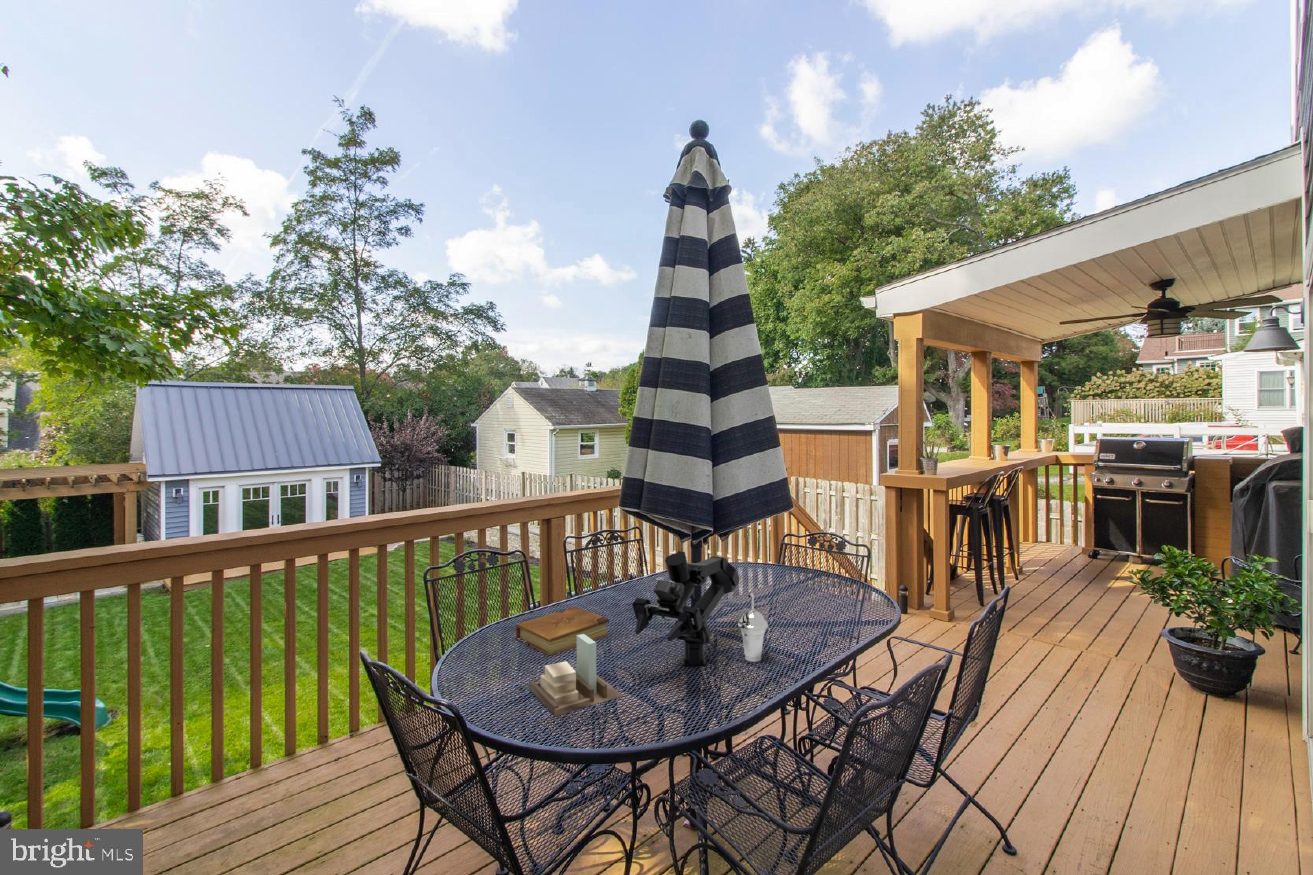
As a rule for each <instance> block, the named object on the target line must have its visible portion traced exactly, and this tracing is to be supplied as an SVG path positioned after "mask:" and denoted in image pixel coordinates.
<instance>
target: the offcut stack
mask: <svg viewBox="0 0 1313 875" xmlns="http://www.w3.org/2000/svg"><path fill="white" fill-rule="evenodd" d="M576 675H577V671H576V670H575V669H574V668H573V667H572V666H571V664H570V663H569V662H568V661H561V662H557V663H552V664H551V663H550V664H547V665H544V673H543V674H541V675H540V677H539V679H540V680H539V681H540V685H541V689H542V690H543V691H544V692H545V693H546V694H547V695H548V696H549V697H550V698H551V699H552V700H553V701H554V702H555V703H556V704H557V705H558V706H563V705H566V704H569V703H573V702H576V701H578V691H577V690H576Z"/></svg>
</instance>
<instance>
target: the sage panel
mask: <svg viewBox="0 0 1313 875" xmlns="http://www.w3.org/2000/svg"><path fill="white" fill-rule="evenodd" d="M576 675H578V676H579V677H580V678H581V679H582V680H584V681H585V682H586V683H587V684H588V685H590V686H591V687H592V688H593V689H594V694H597V679H596V675H597V642H596V640H595V641H593V640H592V639H590V638H589V637H588V636H586V635H585V634H581V635H577V647H576Z"/></svg>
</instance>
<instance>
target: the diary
mask: <svg viewBox="0 0 1313 875" xmlns="http://www.w3.org/2000/svg"><path fill="white" fill-rule="evenodd" d="M609 622H610V618H607V617H604V616H602V615H599V614H597V613H595V612H591V611H588V610H587V609H583V608H581V607H578V606H573V607H568V608H566V609H563V610H559V611H557V612H556V611H555V612H552V613H550V614H546V615H542V616H539V617H536V618H532V619H530V620H526V621H522V622H520V623H516V625H515V639H516V638H522V639H520V640H526V641H527V642H525V643H526V644H529V645H530V646H532V647H533V649H534V648H536V649H537V651H538V650H539V652H540V651H542V652H543V654H544V653H545V654H544V655H546V654H547V656H548V655H552V656H554V654H555V655H557V654H560V653H562V652H561V651H563V652H566V651H569V650H571V648H572V649H575V648H577V635H581V634H585V635H586V636H588V637H589V638H590V639H592V640H595V641H598V640H600V639H603V638H606V637H609V636H611V634H610V632H608V631H607V630H608V627H607V625H608V624H607V623H609ZM608 635H609V636H608ZM602 637H603V638H602ZM597 639H598V640H597ZM526 644H525V645H526ZM530 646H529V647H530ZM532 647H531V648H532ZM536 649H535V650H536ZM568 649H569V650H568ZM542 652H541V653H542ZM559 652H560V653H559ZM556 653H557V654H556Z"/></svg>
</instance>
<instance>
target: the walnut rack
mask: <svg viewBox="0 0 1313 875" xmlns="http://www.w3.org/2000/svg"><path fill="white" fill-rule="evenodd" d="M596 679H597V694H594V689H593V688H592V687H591V686H590V685H588V684H587V683H586V682H585V681H584V680H582V679H581V678H580V677H579V676H578V675H577V674H576V690H577V691H578V701H576V702H573V703H569V704H566V705H563V706H558V705H557V704H556V703H555V702H554V701H553V700H552V699H551V698H550V697H549V696H548V695H547V694H546V693H545V692H544V691H543V690H542V689H541V685H540V680H539V681H532V682H530V683H529V691H530V692H531V693H532V694H533V695H534V696H535V697H536V698H537V699H538V700H539V701H540V702H541V703H542V704H543V705H544V706H545V707H546V709H548V710H549V711H550V713H551V714H552V715H553V716H554V717H559V716H562V715H565V714H568V713H572V712H575V711H578V710H581V709H585V708H588V707H592V706H594V705H597V704H600V703H603V702H608V701H610V700H614V699H617V698H621V697H624V695H623V694H622V693H620V692H619V691H618V690H616V689H615V688H614V687H613V686H611V685H610V684H609V683H607V682H606V681H605V680H604V679H602V678H601V677H600V676H599V675H597V674H596Z"/></svg>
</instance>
